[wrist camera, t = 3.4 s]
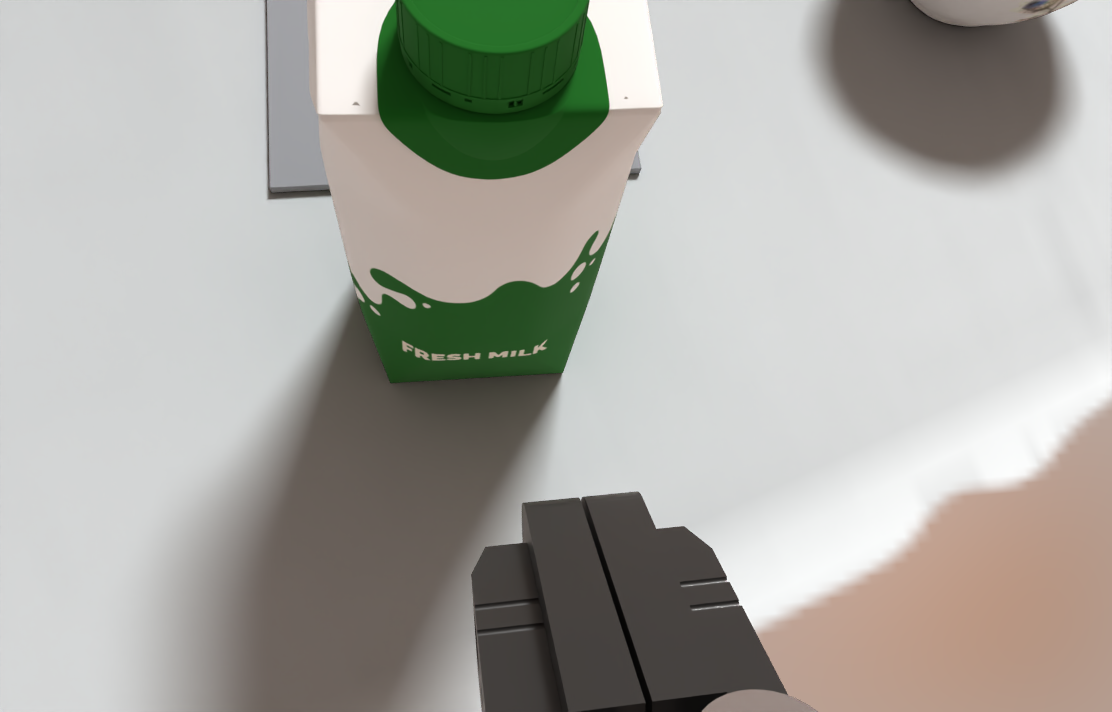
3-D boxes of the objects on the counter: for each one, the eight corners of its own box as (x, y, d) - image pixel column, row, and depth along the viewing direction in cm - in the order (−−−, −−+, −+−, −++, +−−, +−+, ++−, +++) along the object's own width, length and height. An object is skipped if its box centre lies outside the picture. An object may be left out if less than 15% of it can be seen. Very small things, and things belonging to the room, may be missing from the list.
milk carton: (367, 407, 35) (266, 74, 17) (362, 205, 39) (272, -262, 20) (588, 393, 36) (722, 67, 18) (565, 198, 40) (659, -250, 21)
